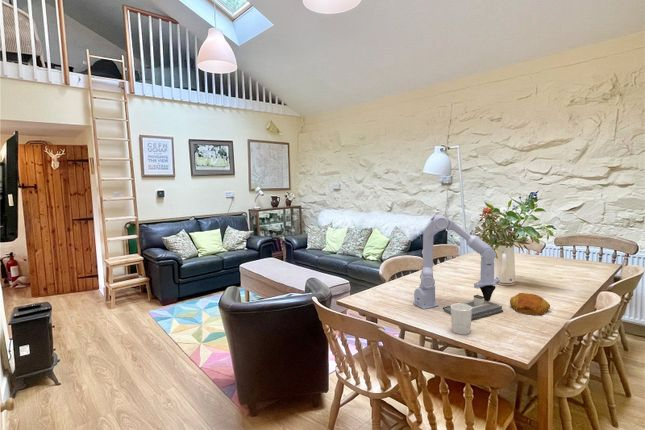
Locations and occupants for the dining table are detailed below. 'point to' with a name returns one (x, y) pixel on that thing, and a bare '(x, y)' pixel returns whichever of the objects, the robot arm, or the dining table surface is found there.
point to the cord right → (486, 315)
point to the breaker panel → (479, 308)
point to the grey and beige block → (478, 300)
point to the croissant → (529, 304)
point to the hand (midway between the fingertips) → (487, 300)
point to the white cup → (461, 318)
